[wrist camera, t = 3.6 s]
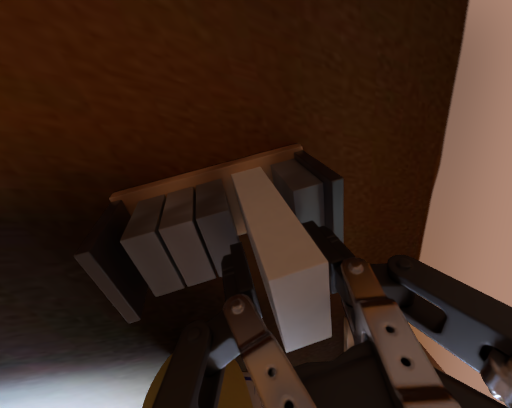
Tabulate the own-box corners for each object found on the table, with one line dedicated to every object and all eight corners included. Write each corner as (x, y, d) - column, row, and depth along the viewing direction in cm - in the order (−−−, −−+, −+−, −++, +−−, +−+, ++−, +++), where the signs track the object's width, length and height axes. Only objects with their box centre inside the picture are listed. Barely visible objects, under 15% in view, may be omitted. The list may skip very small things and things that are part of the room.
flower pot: (191, 318, 26) (188, 419, 18) (245, 339, 30) (261, 429, 22) (143, 361, 28) (122, 470, 20) (201, 376, 32) (202, 471, 24)
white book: (260, 166, 18) (328, 261, 9) (271, 219, 21) (332, 337, 11) (230, 174, 18) (268, 281, 8) (245, 227, 21) (286, 353, 11)
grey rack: (297, 142, 19) (344, 172, 13) (304, 209, 22) (344, 257, 16) (112, 192, 18) (68, 251, 12) (149, 255, 21) (130, 326, 15)
